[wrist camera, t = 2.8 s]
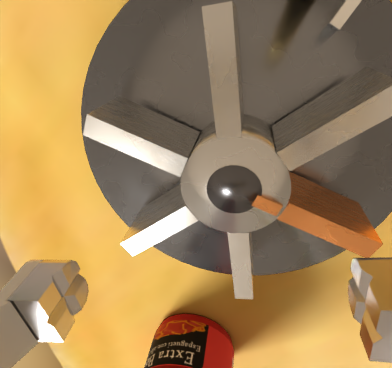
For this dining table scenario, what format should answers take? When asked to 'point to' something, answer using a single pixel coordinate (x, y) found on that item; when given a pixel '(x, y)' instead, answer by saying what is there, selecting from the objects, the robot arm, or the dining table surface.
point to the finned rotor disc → (246, 158)
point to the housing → (252, 103)
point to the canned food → (190, 344)
